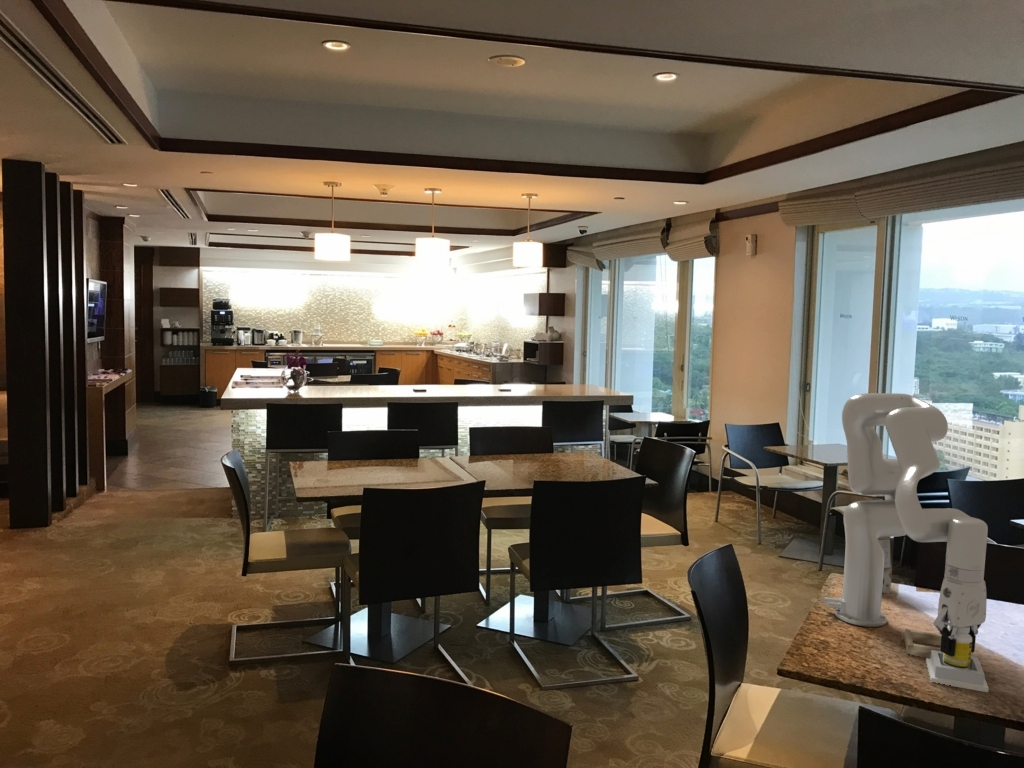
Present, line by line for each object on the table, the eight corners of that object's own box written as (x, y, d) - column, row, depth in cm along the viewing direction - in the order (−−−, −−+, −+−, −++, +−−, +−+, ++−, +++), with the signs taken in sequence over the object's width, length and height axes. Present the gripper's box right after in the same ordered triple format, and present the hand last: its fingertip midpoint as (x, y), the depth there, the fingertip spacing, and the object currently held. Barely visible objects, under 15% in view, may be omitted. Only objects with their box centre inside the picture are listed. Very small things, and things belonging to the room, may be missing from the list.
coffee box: (891, 593, 233) (895, 539, 231) (870, 593, 232) (874, 539, 231) (874, 582, 242) (878, 530, 240) (854, 582, 241) (858, 530, 240)
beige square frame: (907, 654, 190) (908, 644, 190) (904, 638, 200) (904, 628, 200) (956, 663, 187) (957, 652, 186) (951, 646, 196) (951, 636, 196)
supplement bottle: (972, 673, 176) (976, 630, 175) (945, 669, 178) (948, 626, 177) (966, 663, 181) (970, 621, 180) (940, 659, 183) (943, 617, 182)
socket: (930, 682, 176) (932, 666, 176) (925, 662, 186) (927, 647, 186) (988, 692, 172) (989, 676, 172) (979, 671, 182) (981, 656, 182)
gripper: (951, 583, 170) (944, 664, 172) (1006, 574, 177) (999, 653, 179) (921, 571, 177) (915, 650, 179) (975, 564, 184) (969, 640, 186)
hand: (957, 651), depth 179 cm, fingers closed on supplement bottle, 5 cm apart
